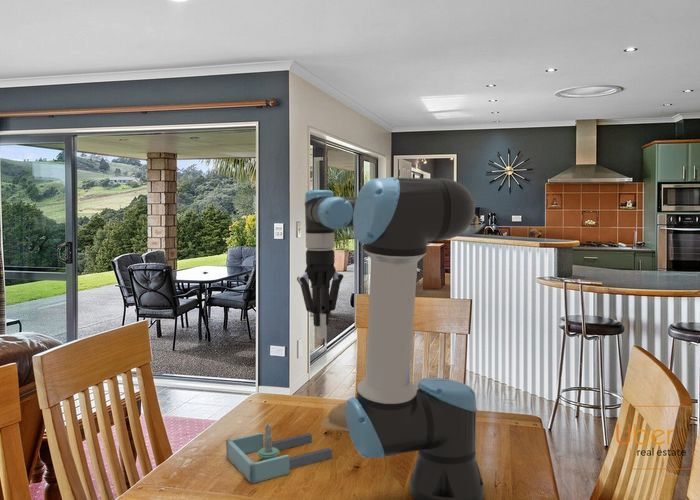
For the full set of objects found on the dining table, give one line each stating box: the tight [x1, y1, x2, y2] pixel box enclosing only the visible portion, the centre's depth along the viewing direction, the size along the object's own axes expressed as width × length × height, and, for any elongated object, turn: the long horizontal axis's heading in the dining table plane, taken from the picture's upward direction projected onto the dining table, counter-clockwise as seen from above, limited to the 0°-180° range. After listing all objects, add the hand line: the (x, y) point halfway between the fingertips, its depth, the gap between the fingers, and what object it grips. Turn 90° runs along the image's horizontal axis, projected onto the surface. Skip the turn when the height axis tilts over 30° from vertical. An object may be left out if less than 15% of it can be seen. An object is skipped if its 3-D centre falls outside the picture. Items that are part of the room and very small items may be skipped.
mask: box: [321, 401, 349, 432], centre depth 158 cm, size 15×7×30 cm
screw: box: [257, 423, 280, 461], centre depth 136 cm, size 9×5×5 cm
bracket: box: [225, 432, 290, 484], centre depth 134 cm, size 16×9×4 cm, turn 31°
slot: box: [272, 432, 333, 469], centre depth 140 cm, size 12×12×2 cm
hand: (321, 337), depth 155 cm, fingers closed
